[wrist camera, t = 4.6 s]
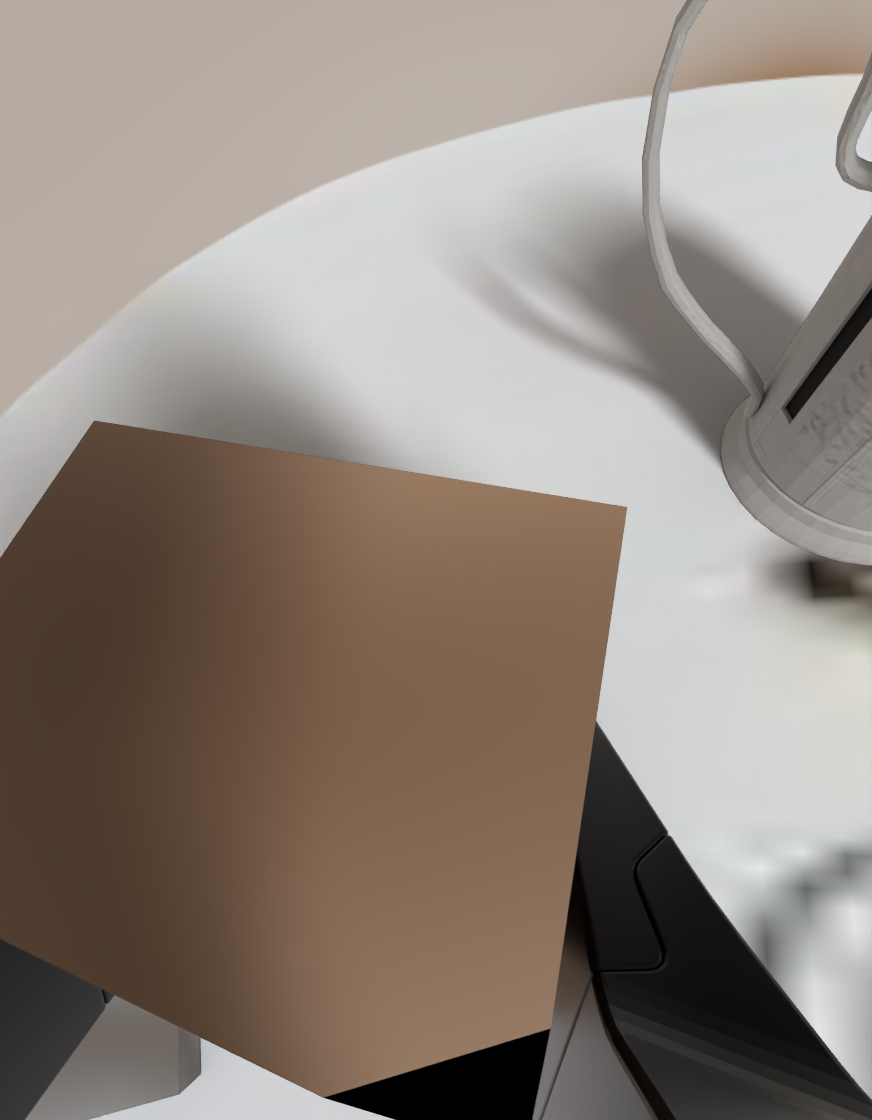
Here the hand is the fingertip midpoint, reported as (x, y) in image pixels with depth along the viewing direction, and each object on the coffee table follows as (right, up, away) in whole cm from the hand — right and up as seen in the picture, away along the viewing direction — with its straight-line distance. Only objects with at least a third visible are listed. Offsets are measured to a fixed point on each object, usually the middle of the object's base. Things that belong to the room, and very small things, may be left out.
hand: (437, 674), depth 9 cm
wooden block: (0, -4, +5) cm, 7 cm away
